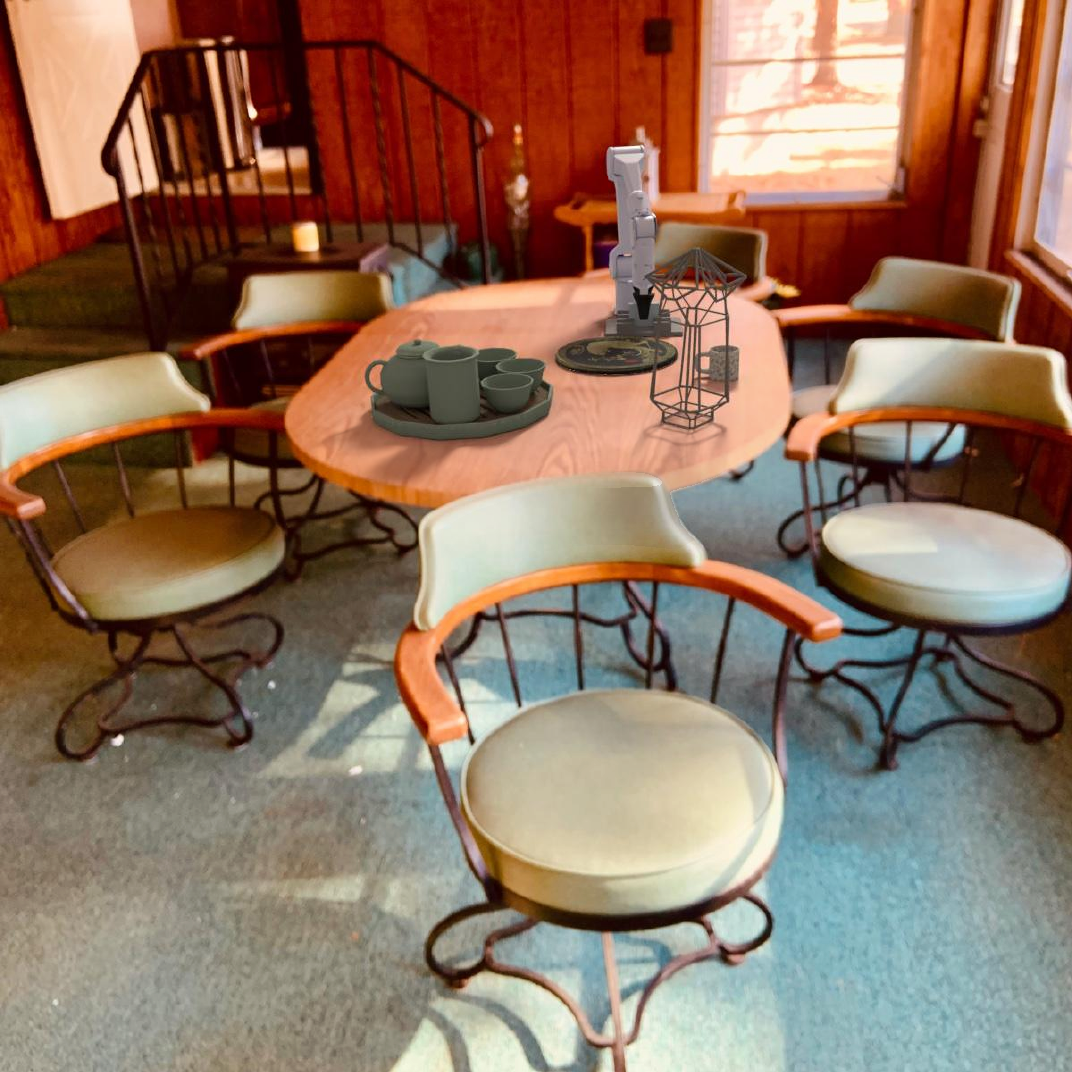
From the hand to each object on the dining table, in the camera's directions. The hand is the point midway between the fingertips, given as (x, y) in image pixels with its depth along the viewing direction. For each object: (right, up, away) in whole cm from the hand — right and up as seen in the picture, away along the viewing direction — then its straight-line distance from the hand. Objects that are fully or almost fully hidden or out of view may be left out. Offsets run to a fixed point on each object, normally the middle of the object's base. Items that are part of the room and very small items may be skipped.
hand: (643, 315), depth 284 cm
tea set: (-45, -31, -49) cm, 73 cm away
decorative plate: (-9, -15, -20) cm, 26 cm away
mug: (+13, -22, -38) cm, 46 cm away
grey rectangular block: (0, -2, +1) cm, 3 cm away
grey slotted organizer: (0, -3, +2) cm, 4 cm away
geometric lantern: (+4, -35, -64) cm, 73 cm away
